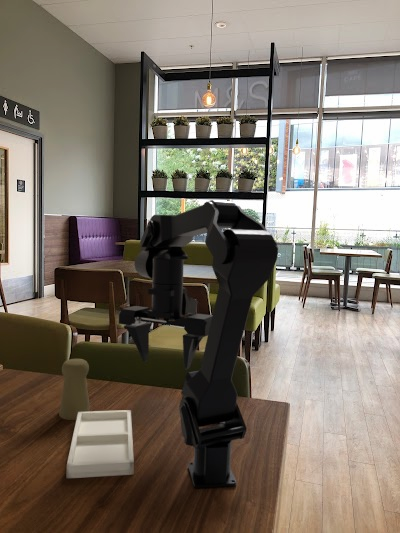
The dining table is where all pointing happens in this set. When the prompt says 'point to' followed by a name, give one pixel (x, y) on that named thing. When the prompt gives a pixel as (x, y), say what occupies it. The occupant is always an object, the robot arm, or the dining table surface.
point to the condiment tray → (101, 445)
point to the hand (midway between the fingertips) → (165, 364)
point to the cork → (74, 389)
